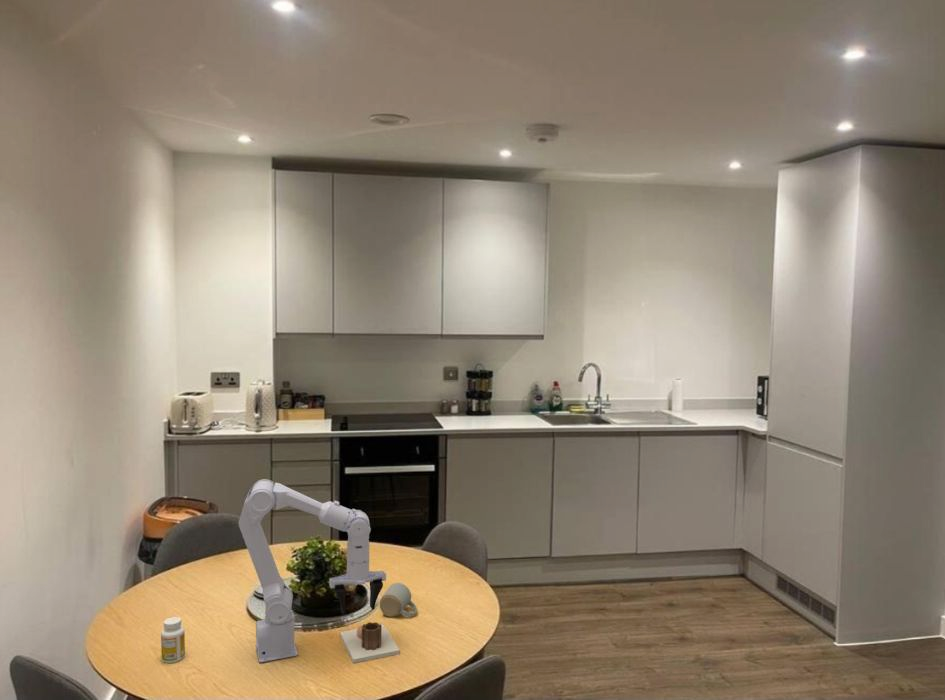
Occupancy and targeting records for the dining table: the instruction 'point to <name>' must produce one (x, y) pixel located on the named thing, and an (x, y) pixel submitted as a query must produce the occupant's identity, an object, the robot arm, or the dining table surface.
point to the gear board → (359, 654)
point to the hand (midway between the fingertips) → (357, 610)
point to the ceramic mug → (397, 601)
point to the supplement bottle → (172, 640)
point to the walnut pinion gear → (371, 636)
